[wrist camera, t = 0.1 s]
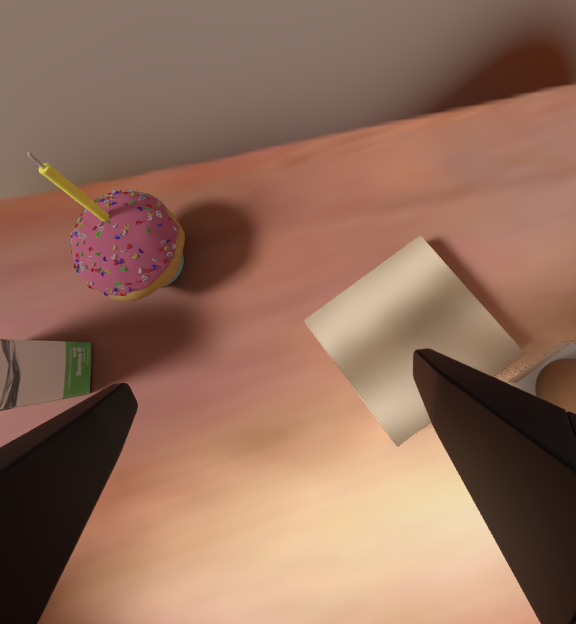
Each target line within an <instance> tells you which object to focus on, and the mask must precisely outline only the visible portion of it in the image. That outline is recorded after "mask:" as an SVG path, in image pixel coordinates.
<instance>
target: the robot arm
mask: <svg viewBox="0 0 576 624" xmlns="http://www.w3.org/2000/svg"><path fill="white" fill-rule="evenodd" d="M413 378H414V381H415V384H416V386H417V389H418V391H419V394H420V396H421V399H422V401H423V403H424V406H425V408H426V411H427V413H428V416H429V418H430V420H431V423H432V425H433V427H434V429H435V431H436V433H437V435H438V437H439V439H440V440H441V442H442V444H443V446H444V448H445V450H446V451H447V453H448V455H449V457H450V459H451V461H452V462H453V464H454V466H455V468H456V470H457V472H458V473H459V475H460V477H461V479H462V481H463V482H464V484H465V486H466V488H467V490H468V492H469V493H470V495H471V497H472V499H473V501H474V503H475V504H476V506H477V508H478V510H479V512H480V514H481V515H482V517H483V519H484V521H485V523H486V524H487V526H488V528H489V530H490V532H491V534H492V535H493V537H494V539H495V541H496V543H497V545H498V546H499V548H500V550H501V552H502V554H503V556H504V557H505V559H506V561H507V563H508V565H509V566H510V568H511V570H512V572H513V574H514V576H515V577H516V579H517V581H518V583H519V585H520V587H521V588H522V590H523V592H524V594H525V596H526V598H527V599H528V601H529V603H530V605H531V607H532V609H533V610H534V612H535V614H536V616H537V618H538V619H539V621H540V623H541V624H576V414H575V413H572V412H570V411H568V412H566V410H565V409H563V408H561V407H559V406H557V405H554V404H552V403H550V402H548V401H546V400H543V399H541V398H539V397H537V396H534V395H532V394H530V393H528V392H526V391H523V390H521V389H519V388H517V387H515V386H512V385H510V384H508V383H506V382H503V381H501V380H499V379H497V378H495V377H492V376H490V375H488V374H486V373H483V372H481V371H479V370H477V369H475V368H472V367H470V366H468V365H466V364H463V363H461V362H459V361H457V360H455V359H452V358H450V357H448V356H446V355H443V354H441V353H439V352H437V351H435V350H432V349H430V348H424V349H416V350H415V351H414V353H413ZM137 408H138V403H137V400H136V398H135V396H134V394H133V392H132V390H131V388H130V386H129V385H128V384H127V383H119V384H113V385H111V386H109V387H107V388H105V389H103V390H102V391H100V392H98V393H96V394H95V395H93V396H91V397H89V398H87V399H86V400H84V401H82V402H80V403H79V404H77V405H75V406H73V407H71V408H70V409H68V410H66V411H64V412H63V413H61V414H59V415H57V416H55V417H54V418H52V419H50V420H48V421H47V422H45V423H43V424H41V425H39V426H38V427H36V428H34V429H32V430H31V431H29V432H27V433H25V434H23V435H22V436H20V437H18V438H16V439H15V440H13V441H11V442H9V443H7V444H6V445H4V446H2V447H0V624H38V622H39V620H40V618H41V616H42V614H43V612H44V610H45V608H46V606H47V604H48V602H49V600H50V598H51V596H52V594H53V592H54V589H55V587H56V585H57V583H58V581H59V579H60V577H61V575H62V573H63V571H64V569H65V567H66V565H67V563H68V561H69V559H70V557H71V555H72V553H73V551H74V549H75V546H76V544H77V542H78V540H79V538H80V536H81V534H82V532H83V530H84V528H85V526H86V524H87V522H88V520H89V518H90V516H91V514H92V512H93V510H94V508H95V505H96V503H97V501H98V499H99V497H100V495H101V493H102V491H103V489H104V487H105V485H106V483H107V481H108V479H109V477H110V475H111V473H112V471H113V469H114V467H115V465H116V462H117V460H118V458H119V456H120V454H121V451H122V449H123V446H124V443H125V441H126V438H127V436H128V433H129V430H130V428H131V425H132V422H133V420H134V417H135V415H136V412H137Z"/></svg>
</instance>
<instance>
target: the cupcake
mask: <svg viewBox="0 0 576 624" xmlns="http://www.w3.org/2000/svg"><path fill="white" fill-rule="evenodd" d="M27 154H28V156H29V157H30V158H31V159H32V160H33V161H34V162H36V163H37V164H38V165H39V166H40V167H39V172H40V173H41V174H43V175H44V176H45V177H46V178H48V179H49V180H50V181H52V182H53V183H54V184H55V185H57V186H58V187H59V188H61V189H62V190H63V191H64V192H66V193H67V194H68V195H70V196H71V197H72V198H73V199H75V200H76V201H77V202H79V203H80V204H81V205H82V206H84V207H85V209H84V212H83V213H84V214H83V215H82V213H81V217H80V218H78V221H77V222H76V224H77V225H76V226H75V230H74V231H73V232H72V233H71V234H73V235H72V236H71V238H72V239H71V240H70V242H71V243H72V244H71V247H70V248H71V249H70V252H71V253H72V254H73V259H74V262H75V264H74V268H76V271H77V272H78V273H79V274H80V276H81V278H82V279H83V281H84V282H85V283H86V284H87V285H88V287H89V288H92V289H95V290H97V291H99V292H100V293H102V294H104V295H106V296H108V297H110V298H113V299H115V300H119V301H124V302H129V301H136V300H139V299H141V298H143V297H146V296H148V295H150V294H152V293H153V292H155V291H156V290H157V289H158V288H160V287H164V286H167V285H169V284H170V283H172V282H173V281H174V280H175V279H176V278H177V277H178V276H179V274H180V273H181V271H182V268H183V263H184V258H183V248H184V242H185V233H184V231H183V229H182V227H181V226H180V224H179V222H178V221H177V219H176V218H175V216H174V215H173V214H172V212H171V211H170V210H169V209H168V208H167V207H166V206H165V205H164V204H163V203H162V201H160V200H158V199H157V198H155V197H153V196H151V195H149V194H147V193H146V194H145V193H143V192H137V191H135V190H133V191H132V190H130V189H129V190H127V191H123V192H121V191H119V192H118V191H115V190H112V194H111V193H108V194H110V195H108V194H106V195H105V197H104V196H101V199H99V198H98V199H96V201H92V200H91V199H90V198H89V197H88V196H86V195H85V194H84V193H83V192H82V191H80V190H79V189H78V188H77V187H76V186H74V185H73V184H72V183H71V182H70V181H68V180H67V179H66V178H65V177H64V176H62V175H61V174H60V173H59V172H58V171H56V170H55V169H54V168H53V167H52V166H50V165H49V164H47V163H45V164H42V163H41V162H40V161H39V160H38V159H37V158H35V157H34V156H33V155H32V154H31V153H30V152H28V153H27ZM113 191H115V192H113ZM134 191H135V192H134ZM102 197H104V198H102ZM97 200H98V201H97ZM71 250H72V251H71Z"/></svg>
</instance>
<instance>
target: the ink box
mask: <svg viewBox="0 0 576 624" xmlns="http://www.w3.org/2000/svg"><path fill="white" fill-rule="evenodd" d="M90 378H91V343H90V342H67V341H38V340H9V339H0V411H2V410H7V409H12V408H18V407H23V406H29V405H34V404H40V403H45V402H51V401H56V400H61V399H66V398H71V397H76V396H82V395H87V394H89V393H90Z"/></svg>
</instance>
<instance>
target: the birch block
mask: <svg viewBox="0 0 576 624" xmlns="http://www.w3.org/2000/svg"><path fill="white" fill-rule="evenodd" d="M304 321H305V323H306V325H307V326H308V328H309V329H310V330H311V332H312V333H313V334H314V336H315V337H316V338H317V340H318V341H319V342H320V344H321V345H322V346H323V348H324V349H325V351H326V352H327V353H328V355H329V356H330V357H331V359H332V360H333V361H334V363H335V364H336V365H337V367H338V368H339V370H340V371H341V372H342V374H343V375H344V376H345V378H346V379H347V380H348V382H349V383H350V384H351V386H352V387H353V388H354V390H355V391H356V393H357V394H358V395H359V397H360V398H361V399H362V401H363V402H364V403H365V405H366V406H367V407H368V409H369V410H370V412H371V413H372V414H373V416H374V417H375V418H376V420H377V421H378V422H379V424H380V425H381V426H382V428H383V429H384V431H385V432H386V433H387V435H388V436H389V437H390V438H391V439H392V441H393V442H394V443H395V444H396V445H397V447H398V446H399V445H400V444H402V443H403V442H404V441H406V440H407V439H409V438H410V437H411V436H413V435H414V434H415V433H417V432H418V431H420V430H421V429H422V428H424V427H425V426H426V425H428V424H429V423H431V420H430V418H429V416H428V413H427V411H426V408H425V406H424V403H423V401H422V399H421V396H420V394H419V391H418V389H417V386H416V384H415V381H414V378H413V353H414V351H415V350H416V349H424V348H430V349H432V350H435V351H437V352H439V353H441V354H443V355H446V356H448V357H450V358H452V359H455V360H457V361H459V362H461V363H463V364H466V365H468V366H470V367H472V368H475V369H477V370H479V371H481V372H483V373H486V374H488V375H490V376H492V377H494V376H495V375H496V374H498V373H499V372H501V371H502V370H503V369H505V368H506V367H507V366H509V365H510V364H511V363H513V362H514V361H516V360H517V359H518V358H520V357H521V356H522V355H524V354H525V352H524V351H523V350H522V349H521V348H520V347H519V346H518V345H517V343H516V342H515V341H514V340H513V339H512V338H511V337H510V336H509V334H508V333H507V332H506V331H505V330H504V329H503V328H502V327H501V325H500V324H499V323H498V322H497V321H496V320H495V319H494V318H493V316H492V315H491V314H490V313H489V312H488V311H487V310H486V309H485V307H484V306H483V305H482V304H481V303H480V302H479V301H478V300H477V298H476V297H475V296H474V295H473V294H472V293H471V292H470V291H469V289H468V288H467V287H466V286H465V285H464V284H463V283H462V282H461V280H460V279H459V278H458V277H457V276H456V275H455V274H454V273H453V271H452V270H451V269H450V268H449V267H448V266H447V265H446V264H445V262H444V261H443V260H442V259H441V258H440V257H439V256H438V255H437V253H436V252H435V251H434V250H433V249H432V248H431V247H430V246H429V244H428V243H427V242H426V241H425V240H424V239H423V238H422V237H421V235H420V236H419V237H417V238H416V239H414V240H413V241H412V242H410V243H409V244H408V245H406V246H405V247H403V248H402V249H401V250H399V251H398V252H397V253H395V254H394V255H393V256H391V257H390V258H388V259H387V260H386V261H384V262H383V263H382V264H380V265H379V266H378V267H376V268H375V269H373V270H372V271H371V272H369V273H368V274H367V275H365V276H364V277H362V278H361V279H360V280H358V281H357V282H356V283H354V284H353V285H352V286H350V287H349V288H347V289H346V290H345V291H343V292H342V293H341V294H339V295H338V296H336V297H335V298H334V299H332V300H331V301H330V302H328V303H327V304H326V305H324V306H323V307H321V308H320V309H319V310H317V311H316V312H315V313H313V314H312V315H310V316H309V317H308V318H306V319H305V320H304Z"/></svg>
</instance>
